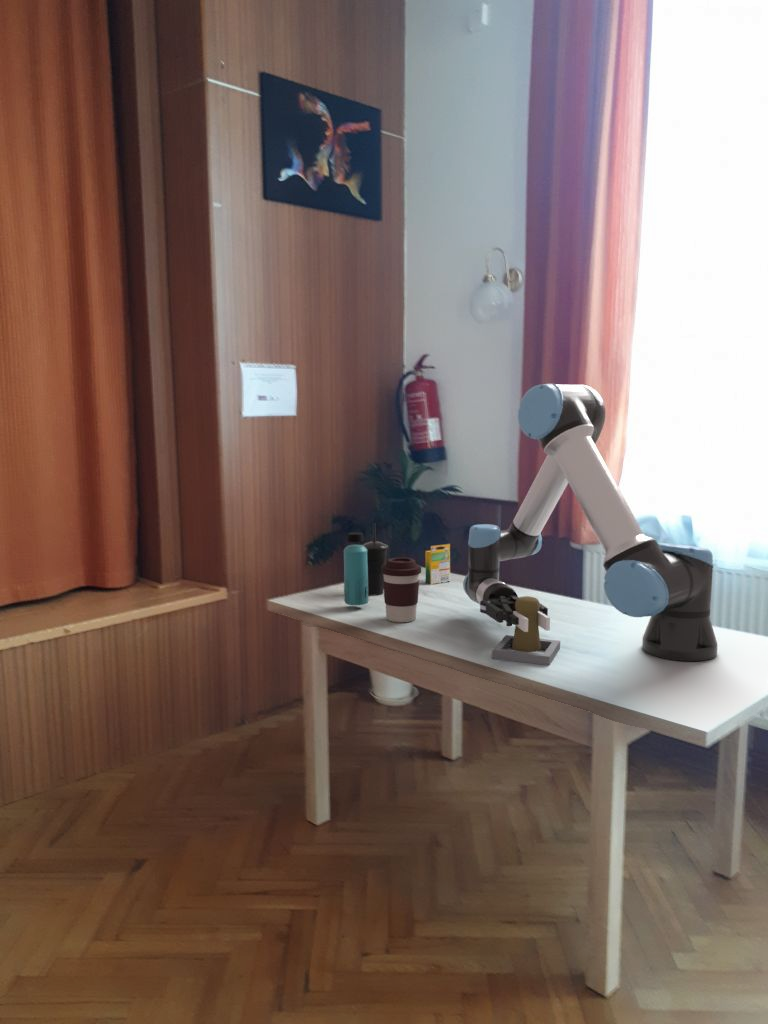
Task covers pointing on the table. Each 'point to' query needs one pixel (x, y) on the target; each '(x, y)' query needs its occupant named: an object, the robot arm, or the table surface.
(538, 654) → the gray square frame
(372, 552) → the drinking cup
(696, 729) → the table surface
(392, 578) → the coffee cup
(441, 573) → the crayon box
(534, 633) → the cork
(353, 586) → the beverage bottle
